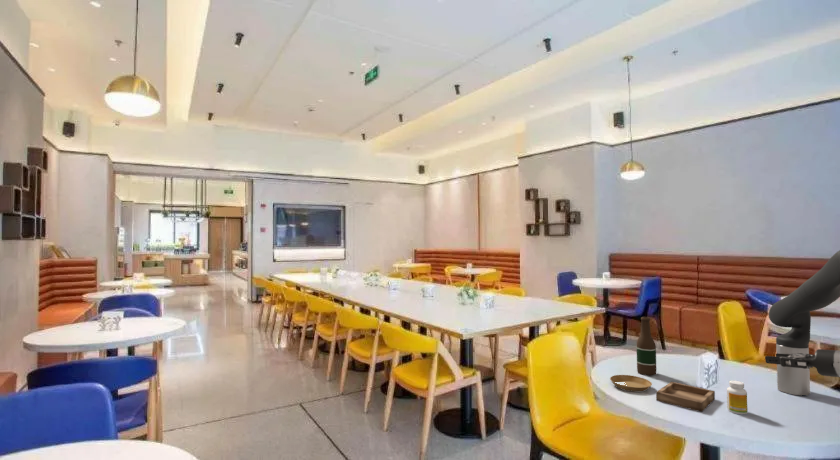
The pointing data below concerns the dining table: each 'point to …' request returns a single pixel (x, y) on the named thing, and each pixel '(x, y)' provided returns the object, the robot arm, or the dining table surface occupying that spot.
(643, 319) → the beer bottle
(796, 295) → the robot arm
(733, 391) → the supplement bottle
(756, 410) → the dining table surface
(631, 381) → the plant saucer
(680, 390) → the serving tray
